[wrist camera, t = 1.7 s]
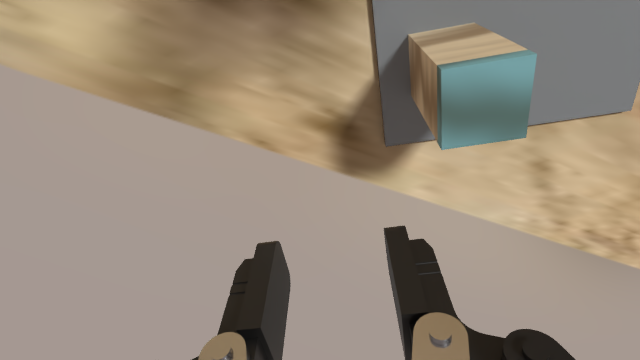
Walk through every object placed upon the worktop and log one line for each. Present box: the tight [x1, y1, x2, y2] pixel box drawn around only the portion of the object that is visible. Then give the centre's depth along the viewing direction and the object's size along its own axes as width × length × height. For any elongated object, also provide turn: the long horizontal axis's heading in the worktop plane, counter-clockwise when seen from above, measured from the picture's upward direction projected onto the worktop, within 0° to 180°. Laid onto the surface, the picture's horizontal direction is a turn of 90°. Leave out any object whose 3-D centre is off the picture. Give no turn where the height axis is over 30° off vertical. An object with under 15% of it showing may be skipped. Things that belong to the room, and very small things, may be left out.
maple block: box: [408, 23, 537, 150], centre depth 25 cm, size 5×5×10 cm
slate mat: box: [372, 0, 640, 147], centre depth 29 cm, size 14×21×1 cm, turn 100°
